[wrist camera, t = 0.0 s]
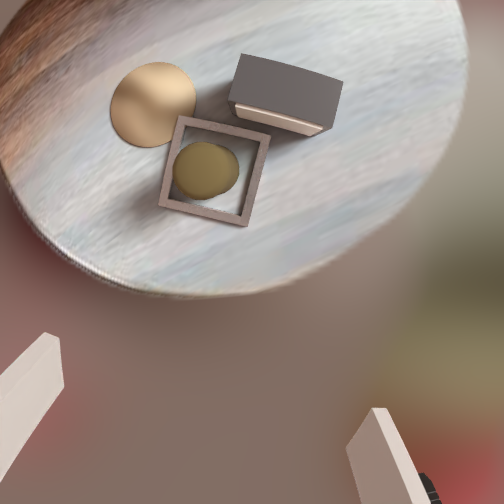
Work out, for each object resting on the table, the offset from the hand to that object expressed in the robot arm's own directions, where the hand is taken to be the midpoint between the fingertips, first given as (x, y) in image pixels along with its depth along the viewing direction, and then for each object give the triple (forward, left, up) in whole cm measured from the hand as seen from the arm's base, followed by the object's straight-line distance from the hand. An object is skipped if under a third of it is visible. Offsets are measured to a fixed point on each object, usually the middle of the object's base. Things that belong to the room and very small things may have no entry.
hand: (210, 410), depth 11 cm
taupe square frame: (-8, -5, -28) cm, 29 cm away
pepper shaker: (-8, -5, -28) cm, 30 cm away
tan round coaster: (-14, -14, -28) cm, 34 cm away
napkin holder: (-17, +1, -28) cm, 33 cm away
